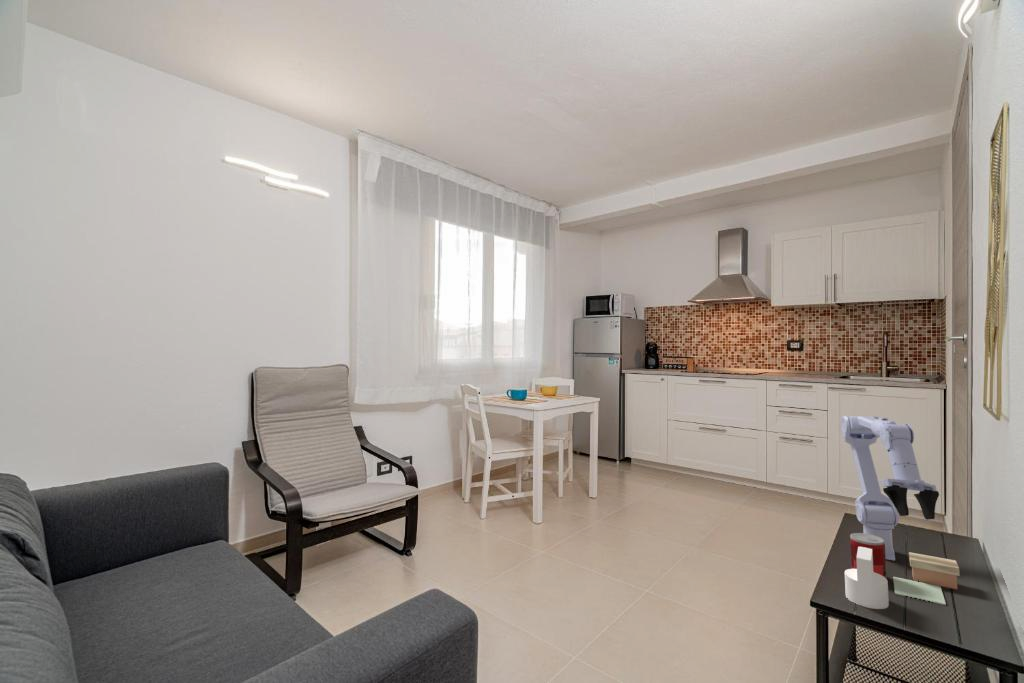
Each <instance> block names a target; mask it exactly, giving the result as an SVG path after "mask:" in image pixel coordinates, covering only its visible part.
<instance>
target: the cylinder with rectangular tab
mask: <svg viewBox="0 0 1024 683" xmlns="http://www.w3.org/2000/svg"><path fill="white" fill-rule="evenodd" d="M856 560H857V569H852V568H847V569H845V570H844V586H845V587H844V588H845V589H844V591H845V597H846V599H847V598H848V599H847V600H848V601H850V602H852V603H853V602H854V604H855V603H856V604H855V605H857V606H860V605H861V607H864V608H868V609H872V610H873V609H875V610H884V609H888V607H889V606H890V603H889V602H890V601H889V585H888V583H889V582H888V579H887V577H886V578H885V577H883V576H882V575H880V574H877V573H875V572H873V553H872V549H870V548H865V547H858V551H857V557H856Z"/></svg>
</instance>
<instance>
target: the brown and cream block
mask: <svg viewBox="0 0 1024 683" xmlns="http://www.w3.org/2000/svg"><path fill="white" fill-rule="evenodd" d="M911 574H912V575H911V576H912V579H913V580H912V581H917V582H918V581H919V582H922V583H927V584H931V585H936V586H940V587H944V588H947V589H954V590H958V576H957V575H952V574H947V573H942V572H936V571H931V570H926V569H921V568H916V567H911Z"/></svg>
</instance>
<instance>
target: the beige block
mask: <svg viewBox="0 0 1024 683" xmlns="http://www.w3.org/2000/svg"><path fill="white" fill-rule="evenodd" d="M908 559H909V566H910V567H911V568H912V567H916V568H921V569H926V570H931V571H936V572H942V573H947V574H952V575H957V577H960V575H961V574H960V567H959V564H958V563H957V560H955V559H949V558H943V557H939V556H938V557H937V556H934V555H933V556H932V555H926V554H922V553H915V552H910V551H909V552H908Z"/></svg>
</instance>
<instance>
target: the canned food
mask: <svg viewBox="0 0 1024 683" xmlns="http://www.w3.org/2000/svg"><path fill="white" fill-rule="evenodd" d="M849 543H850V545H849V546H850V565H851V569H857V560H856V557H857V551H858V547H865V548H870V549H872V553H873V572H875V573H877V574H880V575H882V576H883V577H885V578H886V579H887V561H886V560H887V559H886V556H885V542H884V540H883V539H882V538H880V537H878V536H875V535H871V534H865V533H863V532H853V533H851V534H850V535H849Z"/></svg>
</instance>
